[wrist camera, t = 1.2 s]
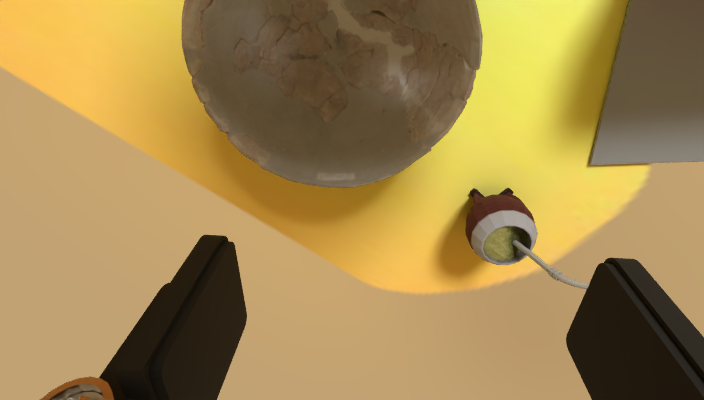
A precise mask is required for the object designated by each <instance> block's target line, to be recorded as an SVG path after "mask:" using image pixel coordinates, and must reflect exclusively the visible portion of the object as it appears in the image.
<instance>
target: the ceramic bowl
mask: <svg viewBox="0 0 704 400" xmlns="http://www.w3.org/2000/svg"><path fill="white" fill-rule="evenodd" d="M182 47H183V52H184V56H185V61H186V64H187V68H188V71H189V73H190V74H191V76H192V77H193V78H192V84H193V87H194V89H195V91H196V93H197V95H198V98H199V100H200V102H202V103H204V107H205V109H206V112H207V114H208V115H209V116H210V117H211V119H212V120H213V121H214V122H215V123H216V125H217V126H218V128H219V129H220V131H223V132H225V133H227V137H228V140H229V141H230V142H231V143H232V144H233V145H234V146H235V147H236V148H237V149H238V150H239V151H240V152H241V153H242V154H243V155H244V156H246V157H248V158H249V159H251V160H252V161H254V162H255V163H256V164H258V165H259V166H260V167H261V168H263V169H265V170H267V171H269V172H271V173H274V174H276V175H278V176H280V177H283V178H285V179H287V180H290V181H293V182H298V183H303V184H308V185H314V186H322V187H335V188H349V187H357V186H362V185H366V184H370V183H374V182H378V181H381V180H384V179H386V178H388V177H390V176H392V175H395V174H397V173H399V172H400V171H402V170H403V169H405V168H407V167H408V166H410V165H411V164H412V163H413V162H415V161H416V160H418V159H419V158H421V157H422V156H424V155H425V154H426V153H428V152H429V151H430V150H431V147H432V146H434V145H435V144H436V143H437V142H438V141H439V140H440V139H441V138H443V137H444V136H445V135H446V134H447V133H448V131H449V130H450V129H451V127H452V126H453V125H454V123H455V122H456V120H457V119H458V117H459V116H460V114H461V113H462V111H463V109H464V107H465V105H466V103H467V99H468V98H469V97H470V95H471V92H472V89H473V81H474V79H475V77H476V70H478V69H479V68H480V62H481V55H482V30H481V24H480V19H479V14H478V10H477V5H476V1H475V0H185V1H184V7H183V13H182Z"/></svg>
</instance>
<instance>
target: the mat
mask: <svg viewBox="0 0 704 400" xmlns="http://www.w3.org/2000/svg"><path fill="white" fill-rule="evenodd" d="M696 161H697V162H698V161H704V0H629V3H628V7H627V11H626V15H625V19H624V23H623V28H622V32H621V36H620V40H619V44H618V48H617V52H616V56H615V60H614V64H613V68H612V72H611V76H610V80H609V84H608V88H607V92H606V97H605V101H604V105H603V109H602V113H601V117H600V121H599V125H598V129H597V133H596V137H595V141H594V145H593V149H592V153H591V157H590V161H589V164H590V165H606V164H637V163H665V162H696Z"/></svg>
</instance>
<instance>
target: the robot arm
mask: <svg viewBox="0 0 704 400" xmlns="http://www.w3.org/2000/svg"><path fill="white" fill-rule="evenodd" d="M246 319H247V313H246V307H245V301H244V296H243V290H242V284H241V279H240V272H239V267H238V261H237V256H236V250H235V245H234V243H233V242H229V241H228V238H227V237H226V236H216V235H203V236H202V237H201V238H200V239H199V241H198V242H197V244H196V245H195V247H194V248H193V250H192V251H191V253H190V254H189V256H188V257H187V259H186V260H185V262H184V263H183V265H182V266H181V268H180V269H179V270H178V272H177V273H176V275H175V276H174V278H173V280H172V281H171V282H170V283H167V284H165V285H164V286H163V287H162V288H161V289H160V291H159V292H158V293H157V295H156V296H155V298H154V299H153V301H152V302H151V304H150V305H149V307H148V308H147V309H146V311H145V312H144V314H143V315H142V317H141V318H140V319H139V321H138V322H137V324H136V325H135V327H134V328H133V330H132V331H131V333H130V334H129V335H128V337H127V338H126V340H125V341H124V343H123V344H122V345H121V347H120V348H119V350H118V351H117V353H116V354H115V355H114V357H113V358H112V360H111V361H110V363H109V364H108V366H107V367H106V369H105V370H104V371H103V373H102V374H101V376H100V377H99V378H95V377H84V378H78V379H75V380H72V381H69V382H66V383H64V384H62V385H61V386H59V387H57V388H55V389H53V390H52V391H50V392H49V393H48V394H47V395H45V396H44V397H43V398H42V399H40V400H217V398H218V395H219V392H220V390H221V387H222V385H223V382H224V380H225V377H226V374H227V372H228V369H229V367H230V364H231V361H232V359H233V356H234V354H235V351H236V349H237V346H238V343H239V341H240V338H241V336H242V333H243V330H244V328H245V325H246ZM566 343H567V347H568V350H569V352H570V354H571V357H572V359H573V361H574V363H575V365H576V367H577V369H578V371H579V373H580V375H581V378H582V380H583V382H584V384H585V386H586V388H587V390H588V392H589V394H590V396H591V399H592V400H704V337H703V336H702V335H701V334H700V332H699V331H698V330H697V329H696V328H695V327H694V325H693V324H692V323H691V322H690V321H689V320H688V319H687V317H686V316H685V315H684V314H683V313H682V311H681V310H680V309H679V308H678V307H677V306H676V305H675V303H674V302H673V301H672V300H671V299H670V297H669V296H668V295H667V294H666V293H665V292H664V290H663V289H662V288H661V287H660V286H659V285H658V284H657V282H656V281H655V280H654V279H653V278H652V276H651V275H650V274H649V273H648V272H647V271H646V269H645V268H644V267H643V266H642V265H641V264H640V263H639V262H638V261H637V260H635V259H623V258H608V259H606V260H605V262H604V263H601V264H599V265H598V266H597V268H596V270H595V273H594V275H593V277H592V279H591V281H590V284H589V286H588V288H587V291H586V293H585V295H584V297H583V300H582V302H581V304H580V306H579V309H578V311H577V313H576V316H575V318H574V320H573V322H572V324H571V327H570V329H569V331H568V333H567V337H566Z"/></svg>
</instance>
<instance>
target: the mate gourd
mask: <svg viewBox="0 0 704 400" xmlns="http://www.w3.org/2000/svg"><path fill="white" fill-rule="evenodd" d="M470 194H471V195H472V196H473V197H474V205H473V206H472V208H471V210H470V212H469V214H468V216H467V220H466V230H465V231H466V236H467V238H468V241H469V243H470V245H471V247H472V249H473V250H474V251H475V253H476V254H477V255H479V256H480V257H481V258H482V259H483V260H485V261H487V262H490V263H493V264H496V265H510V264H513V263H516V262H519V261H520V260H522V259H523V258H525V257H526V256H529V257H530V258H531V259H532V260H534V261H535V262H536V263H537V264H538V265H540V266H541V267H542V268H543V269H544V270H546V271H547V272H548V274H549V275H550V276H551V277H552V278H554V279H555V280H560V281H561V282H564V283H566V284H569V285H571V286H575V287H579V288H583V289H586V290H587V288H588V286H589V284H585V283H582V282H579V281H576V280H573V279H570V278H568V277H565V276H563V275H562V273H561V272H559V271H557V270H556V269H555V268H551V267H550V266H549V265H548V264H546V263H545V262H544V261H543V260H541V259H540V258H539V257H538V256H536V255H535V254H534V253H533V252H531V250H532V249H533V247H534V245H535V243H536V238H537V230H536V226H535V222H534V219H533V216H532V214H531V212H530V211H529V210H528V209H527V207H526V206H525V205H524V203H523V202H522V201H521V200H520V199H519V198H517V197H516V196H514V195H512V194H513V191H512V190H511V189H510V188H507V189H505V190H504V191H503V192H501V193H500V194H499V195H490V196H487V197H484V196H483V195H482V194H481V193H480V192H479V191H478V190H476V189H475V188H474V189H472V190H471V191H470Z"/></svg>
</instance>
